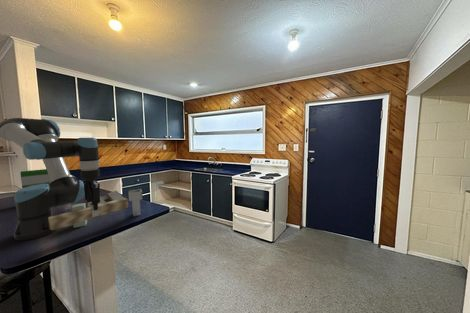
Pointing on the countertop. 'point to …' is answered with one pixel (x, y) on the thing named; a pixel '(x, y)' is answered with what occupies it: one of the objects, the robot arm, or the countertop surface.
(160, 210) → the countertop surface
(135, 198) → the cup bracket
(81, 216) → the rail
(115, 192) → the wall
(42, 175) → the hardback book
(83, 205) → the post
